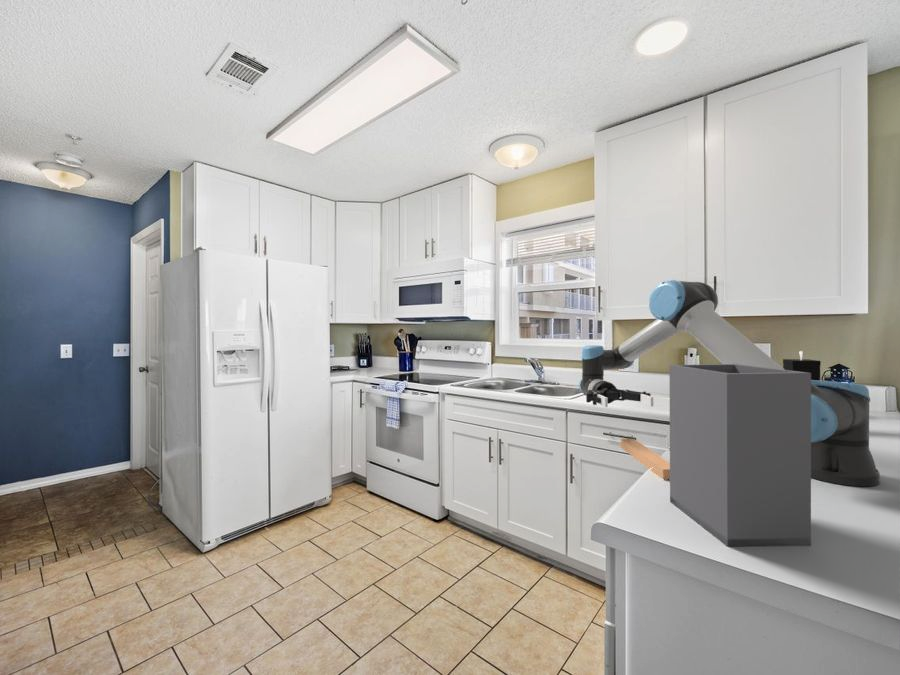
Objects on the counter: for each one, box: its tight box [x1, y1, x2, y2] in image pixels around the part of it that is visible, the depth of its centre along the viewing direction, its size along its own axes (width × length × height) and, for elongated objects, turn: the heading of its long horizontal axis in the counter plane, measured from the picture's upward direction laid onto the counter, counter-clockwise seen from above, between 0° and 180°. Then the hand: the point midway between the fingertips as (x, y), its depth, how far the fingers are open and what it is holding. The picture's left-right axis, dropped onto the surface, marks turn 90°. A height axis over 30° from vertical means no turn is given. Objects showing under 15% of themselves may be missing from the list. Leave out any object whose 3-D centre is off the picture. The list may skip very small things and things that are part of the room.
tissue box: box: [782, 350, 822, 381], centre depth 146 cm, size 8×8×28 cm
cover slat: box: [620, 438, 670, 480], centre depth 113 cm, size 28×4×3 cm, turn 177°
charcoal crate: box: [668, 363, 812, 547], centre depth 78 cm, size 14×18×29 cm
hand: (629, 402), depth 122 cm, fingers open, 13 cm apart
